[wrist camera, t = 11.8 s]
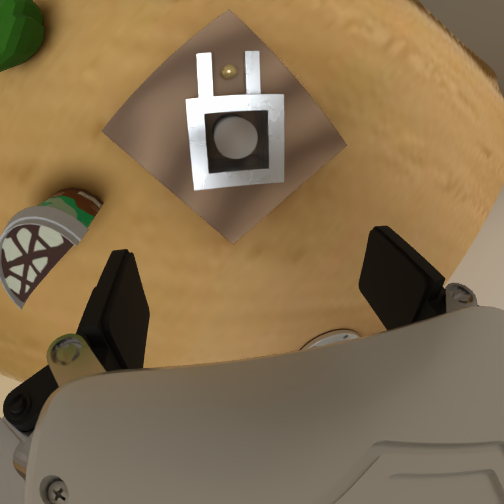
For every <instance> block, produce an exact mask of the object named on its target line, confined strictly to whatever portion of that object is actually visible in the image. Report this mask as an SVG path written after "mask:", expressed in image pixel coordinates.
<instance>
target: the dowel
mask: <svg viewBox="0 0 504 504" xmlns="http://www.w3.org/2000/svg"><path fill="white" fill-rule="evenodd" d="M236 74H237V68H236V67H235V66H234V65H231V64H228V65H226V66H224V67H223V68H222V70H221V71H220V76H221V77H222V78H223V79H230V78H232V77H234V76H235V75H236Z"/></svg>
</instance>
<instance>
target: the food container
mask: <svg viewBox="0 0 504 504" xmlns="http://www.w3.org/2000/svg"><path fill="white" fill-rule="evenodd" d="M103 204H104V203H103V202H102V201H101V200H100V199H99V198H98V197H97V196H95V195H93V194H91V193H89V192H88V191H86V190H82V189H77V188H69V189H64V190H60V191H59V192H57V193H56V194H54V195H53V196H51V197H50V198H48V199H47V200H45V201H44V202H43V203H41V204H40V205H39V206H33V207H29V208H25V209H23V210H21V211H20V212H18V213H17V214H16V215H14V216H13V217H12V219H11V220H10V221H9V222H8V224H7V226H6V228H5V229H4V231H3V233H2V235H1V237H0V280H1V283H2V285H3V287H4V289H5V291H6V292H7V294H8V295H9V297H10V298H11V299H12V300H13V302H14V303H15V304H16V305H17V306H18V307H19V308H20V309H22V307H23V306H24V304H25V302H26V300H27V299H28V297H29V295H30V294H31V293H32V291H33V290H34V289H35V288H36V287H37V285H38V284H39V283H40V282H41V281H42V280H43V279H44V277H45V276H46V275H47V274H48V273H49V271H50V270H51V269H52V268H53V267H54V266H55V265H56V263H57V262H58V261H59V260H60V259H61V258H62V257H63V256H64V255H65V254H66V252H67V251H68V250H69V249H70V248H71V247H72V246H73V245H75V246H77V245H78V243H79V242H80V241H81V239H82V238H83V237H84V235H85V234H86V232H87V231H88V230H89V229H88V227H89V225H90V223H91V222H92V220H93V219H94V217H95V216H96V214H97V213H98V211H99V210H100V208H101V206H102V205H103Z"/></svg>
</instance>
